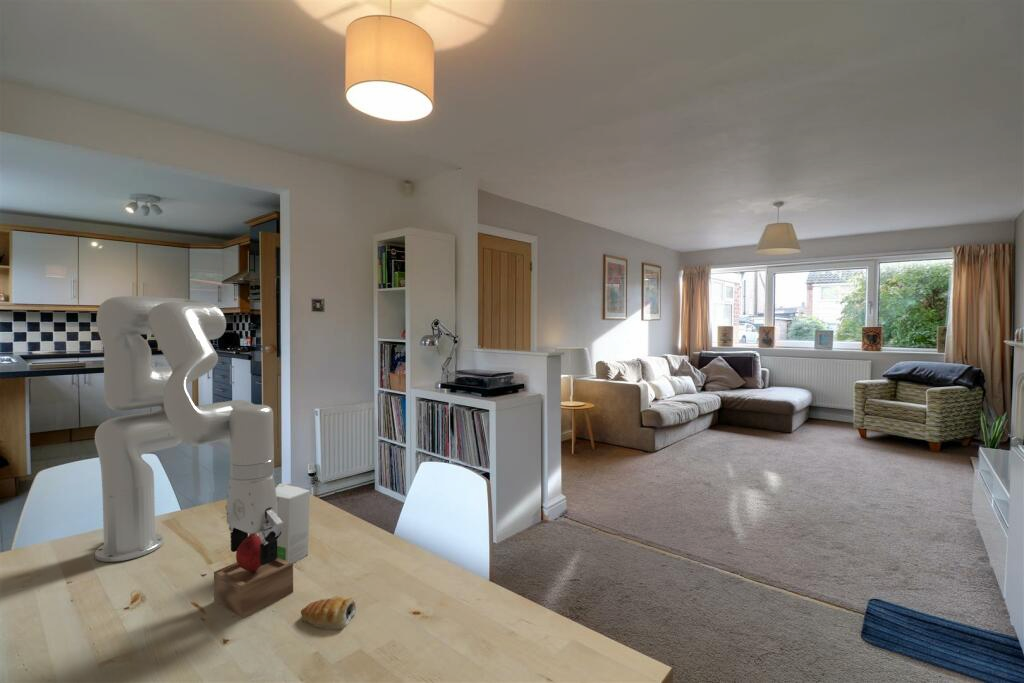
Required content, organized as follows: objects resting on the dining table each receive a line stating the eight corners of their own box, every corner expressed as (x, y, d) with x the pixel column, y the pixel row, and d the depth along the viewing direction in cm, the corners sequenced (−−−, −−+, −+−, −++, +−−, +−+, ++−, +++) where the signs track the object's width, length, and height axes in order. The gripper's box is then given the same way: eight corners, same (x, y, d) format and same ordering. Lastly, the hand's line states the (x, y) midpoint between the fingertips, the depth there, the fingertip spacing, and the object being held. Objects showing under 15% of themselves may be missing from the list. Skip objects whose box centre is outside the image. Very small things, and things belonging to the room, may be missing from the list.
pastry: (293, 629, 86) (293, 608, 86) (312, 607, 93) (312, 587, 93) (344, 633, 86) (344, 611, 85) (359, 610, 92) (359, 590, 92)
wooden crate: (214, 601, 94) (213, 572, 94) (263, 577, 103) (263, 551, 102) (244, 618, 89) (243, 587, 89) (293, 592, 98) (292, 563, 97)
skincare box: (260, 560, 110) (259, 492, 109) (284, 547, 116) (283, 483, 116) (288, 567, 107) (287, 498, 106) (311, 554, 113) (310, 488, 112)
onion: (255, 580, 92) (255, 539, 92) (229, 577, 93) (228, 536, 93) (276, 565, 98) (275, 526, 98) (251, 563, 99) (250, 524, 99)
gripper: (208, 466, 96) (210, 551, 97) (260, 483, 87) (261, 576, 88) (245, 457, 102) (247, 537, 103) (297, 471, 93) (298, 559, 94)
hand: (253, 555), depth 95 cm, fingers open, 9 cm apart
